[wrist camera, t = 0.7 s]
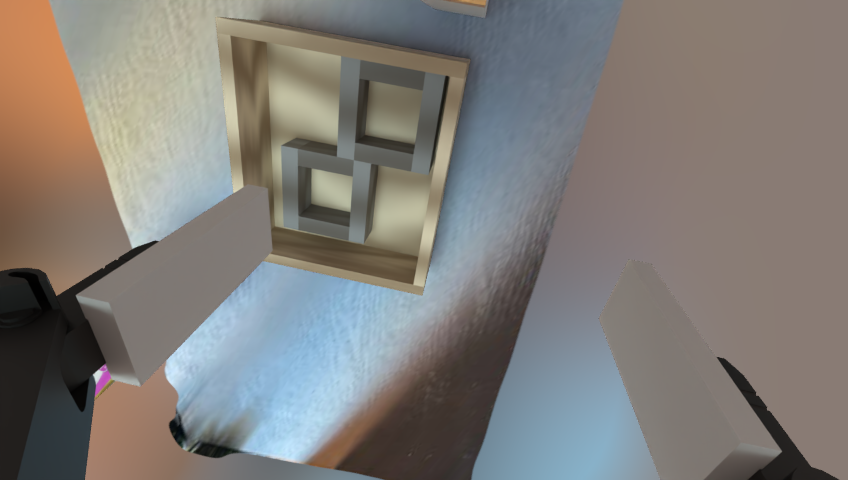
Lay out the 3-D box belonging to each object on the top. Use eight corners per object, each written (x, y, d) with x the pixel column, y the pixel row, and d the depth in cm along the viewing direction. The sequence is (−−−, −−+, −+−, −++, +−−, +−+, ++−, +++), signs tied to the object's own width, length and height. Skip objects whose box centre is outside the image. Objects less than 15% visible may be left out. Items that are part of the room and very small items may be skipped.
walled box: (260, 20, 31) (215, 16, 26) (470, 59, 30) (467, 63, 25) (271, 228, 41) (239, 255, 36) (430, 262, 40) (422, 295, 35)
